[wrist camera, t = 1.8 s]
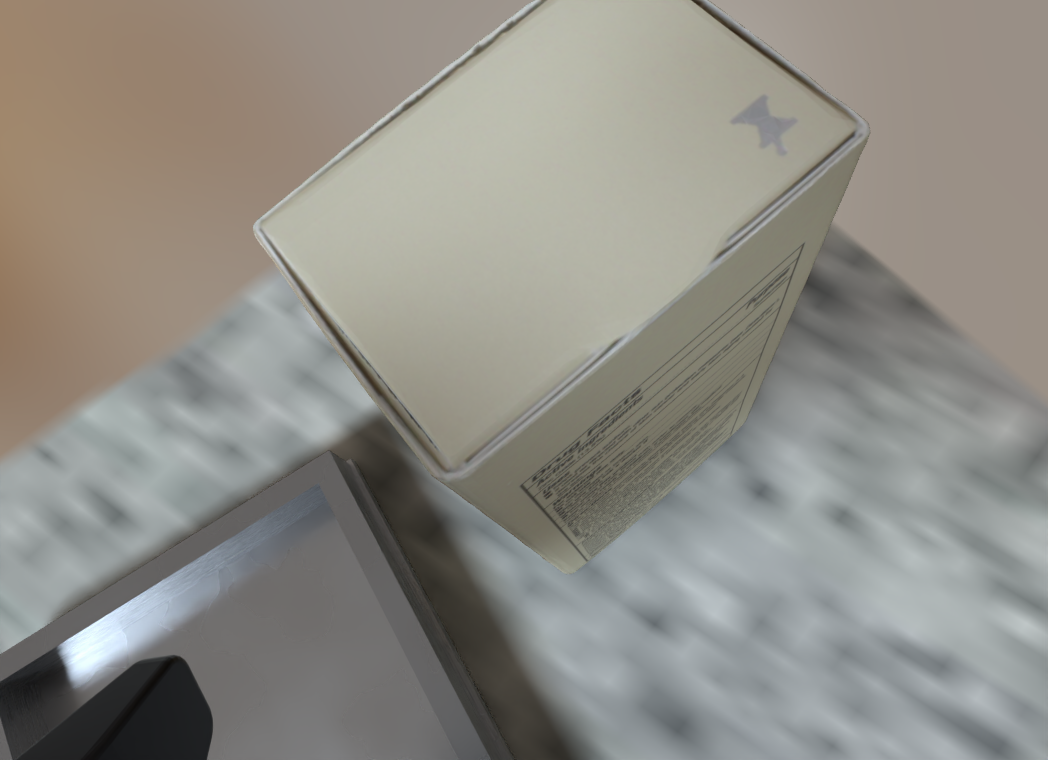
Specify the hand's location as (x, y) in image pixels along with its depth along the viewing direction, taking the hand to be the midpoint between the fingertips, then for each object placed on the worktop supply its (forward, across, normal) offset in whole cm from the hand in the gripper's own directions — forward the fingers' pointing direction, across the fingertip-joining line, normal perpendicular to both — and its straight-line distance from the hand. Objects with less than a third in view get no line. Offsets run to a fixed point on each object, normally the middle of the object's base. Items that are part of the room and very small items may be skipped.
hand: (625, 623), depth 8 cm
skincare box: (+12, 0, +5) cm, 13 cm away
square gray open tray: (+7, +9, +9) cm, 15 cm away
